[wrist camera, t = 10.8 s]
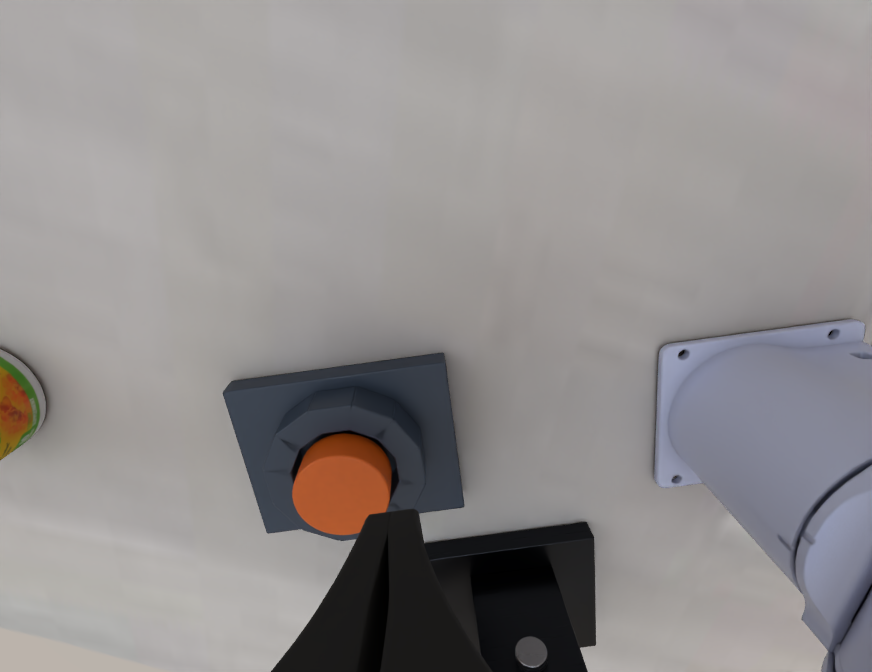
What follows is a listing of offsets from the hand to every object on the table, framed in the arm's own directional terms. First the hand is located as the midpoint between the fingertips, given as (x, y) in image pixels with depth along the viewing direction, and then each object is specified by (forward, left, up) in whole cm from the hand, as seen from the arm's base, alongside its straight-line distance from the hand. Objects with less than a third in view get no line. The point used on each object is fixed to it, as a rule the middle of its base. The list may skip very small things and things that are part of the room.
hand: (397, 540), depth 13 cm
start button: (+3, +3, -8) cm, 9 cm away
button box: (+3, +3, -10) cm, 11 cm away
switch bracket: (-4, +14, -10) cm, 18 cm away
